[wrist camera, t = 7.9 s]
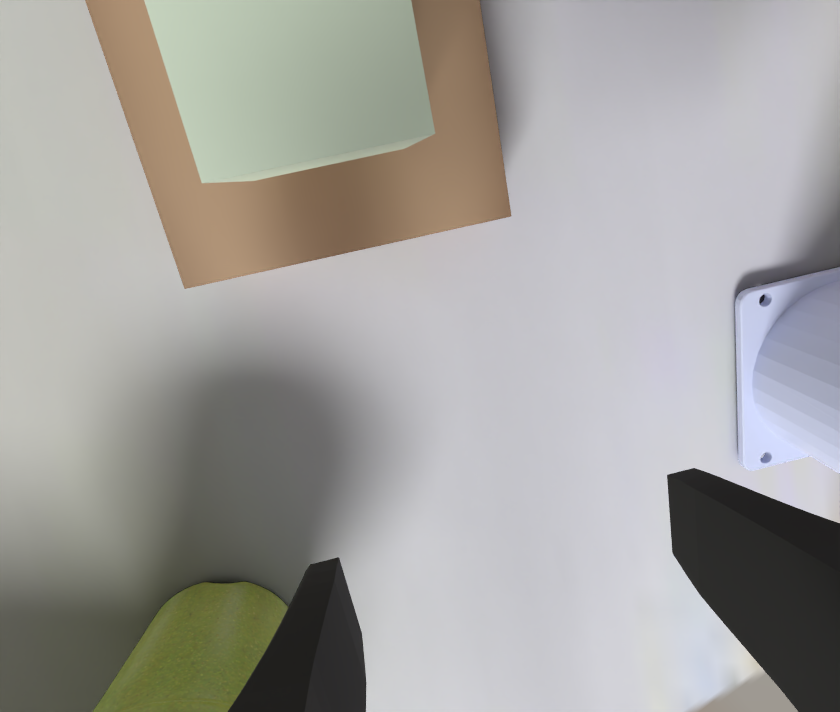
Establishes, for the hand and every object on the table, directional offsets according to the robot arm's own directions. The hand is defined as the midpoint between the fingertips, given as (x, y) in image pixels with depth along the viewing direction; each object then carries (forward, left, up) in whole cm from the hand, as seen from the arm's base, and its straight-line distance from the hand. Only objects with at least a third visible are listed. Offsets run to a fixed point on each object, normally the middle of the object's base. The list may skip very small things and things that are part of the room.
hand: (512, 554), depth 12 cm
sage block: (+2, -11, -7) cm, 13 cm away
